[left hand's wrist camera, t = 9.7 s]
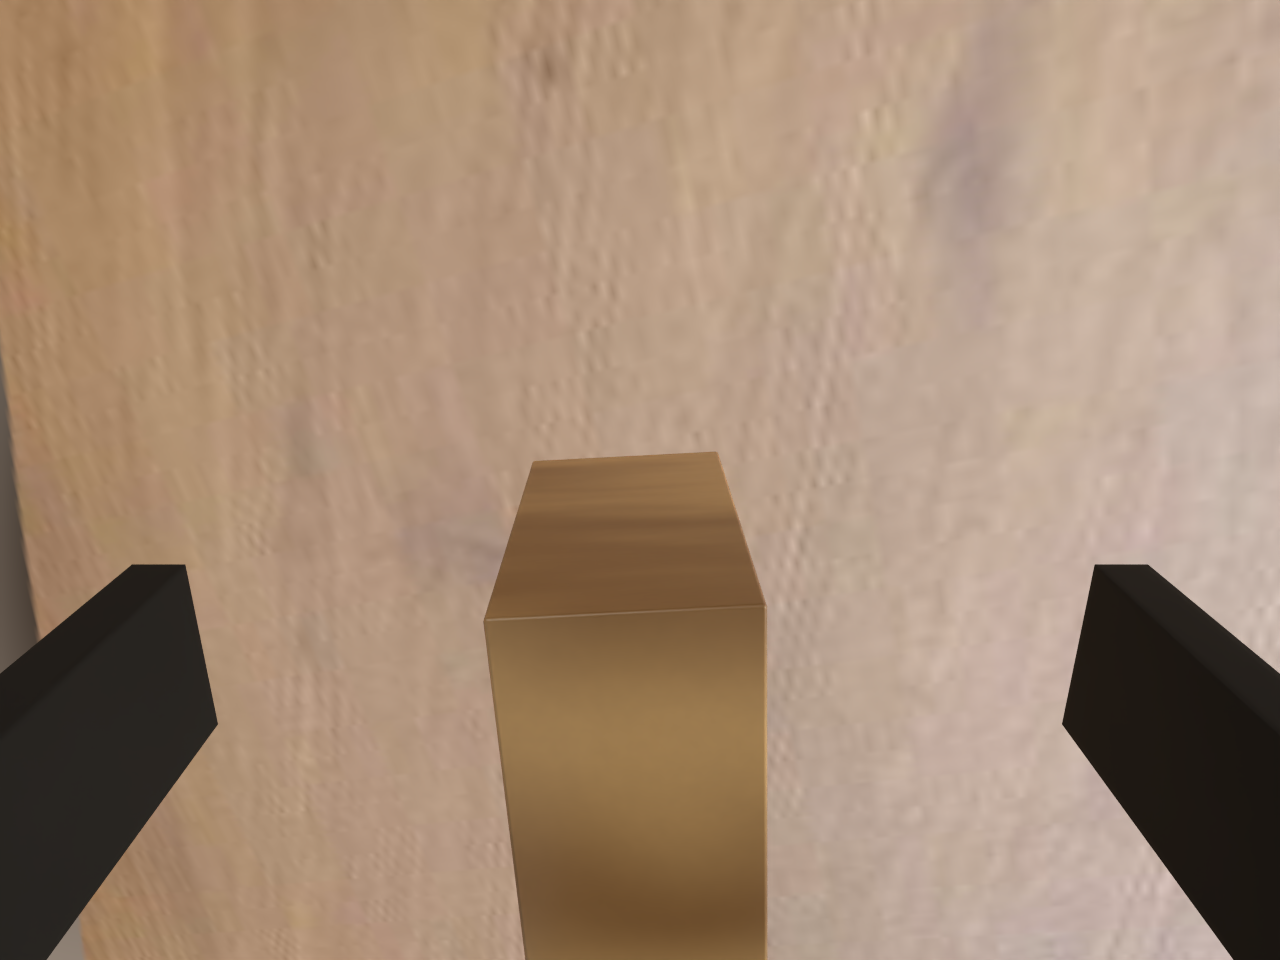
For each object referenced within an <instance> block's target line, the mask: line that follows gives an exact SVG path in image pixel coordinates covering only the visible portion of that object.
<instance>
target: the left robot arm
mask: <svg viewBox="0 0 1280 960" xmlns="http://www.w3.org/2000/svg"><path fill="white" fill-rule="evenodd" d="M217 725H218V722H217V718H216V713H215V708H214V703H213V698H212V693H211V688H210V683H209V678H208V674H207V669H206V664H205V659H204V654H203V649H202V644H201V639H200V634H199V630H198V625H197V620H196V615H195V610H194V605H193V600H192V595H191V590H190V586H189V581H188V576H187V571H186V566H185V565H131V566H130V567H129V568H127V569H126V570H125V571H124V572H123V573H121V574H120V575H119V576H118V577H117V578H115V579H114V580H113V581H112V582H111V583H109V584H108V585H107V586H106V587H104V588H103V589H102V590H101V591H100V592H98V593H97V594H96V595H95V596H94V597H92V598H91V599H90V600H89V601H88V602H86V603H85V604H84V605H83V606H82V607H80V608H79V609H78V610H77V611H75V612H74V613H73V614H72V615H71V616H69V617H68V618H67V619H66V620H65V621H63V622H62V623H61V624H60V625H59V626H57V627H56V628H55V629H54V630H53V631H51V632H50V633H49V634H48V635H46V636H45V637H44V638H43V639H42V640H40V641H39V642H38V643H37V644H36V645H34V646H33V647H32V648H31V649H30V650H28V651H27V652H26V653H25V654H24V655H22V656H21V657H20V658H19V659H17V660H16V661H15V662H14V663H13V664H11V665H10V666H9V667H8V668H7V669H5V670H4V671H3V672H2V673H1V674H0V960H47V958H48V957H49V955H50V954H51V953H52V951H53V950H54V949H55V947H56V946H57V944H58V943H59V942H60V940H61V939H62V938H63V936H64V935H65V934H66V932H67V931H68V929H69V928H70V927H71V925H72V924H73V923H74V921H75V920H76V918H77V917H78V916H79V914H80V913H81V912H82V910H83V909H84V907H85V906H86V905H87V903H88V902H89V901H90V899H91V898H92V896H93V895H94V894H95V892H96V891H97V890H98V888H99V887H100V885H101V884H102V883H103V881H104V880H105V879H106V877H107V876H108V874H109V873H110V872H111V870H112V869H113V868H114V866H115V865H116V863H117V862H118V861H119V859H120V858H121V857H122V855H123V854H124V853H125V851H126V850H127V848H128V847H129V846H130V844H131V843H132V842H133V840H134V839H135V837H136V836H137V835H138V833H139V832H140V831H141V829H142V828H143V826H144V825H145V824H146V822H147V821H148V820H149V818H150V817H151V815H152V814H153V813H154V811H155V810H156V809H157V807H158V806H159V804H160V803H161V802H162V800H163V799H164V798H165V796H166V795H167V793H168V792H169V791H170V789H171V788H172V787H173V785H174V784H175V782H176V781H177V780H178V778H179V777H180V776H181V774H182V773H183V771H184V770H185V769H186V767H187V766H188V765H189V763H190V762H191V760H192V759H193V758H194V756H195V755H196V754H197V752H198V751H199V749H200V748H201V747H202V745H203V744H204V743H205V741H206V740H207V738H208V737H209V736H210V734H211V733H212V732H213V730H214V729H215V727H216V726H217ZM1062 725H1063V726H1064V727H1065V729H1066V730H1067V732H1068V733H1069V734H1070V736H1071V737H1072V738H1073V740H1074V741H1075V743H1076V744H1077V745H1078V747H1079V748H1080V749H1081V751H1082V752H1083V754H1084V755H1085V756H1086V758H1087V759H1088V760H1089V762H1090V763H1091V765H1092V766H1093V767H1094V769H1095V770H1096V771H1097V773H1098V774H1099V776H1100V777H1101V778H1102V780H1103V781H1104V782H1105V784H1106V785H1107V787H1108V788H1109V789H1110V791H1111V792H1112V793H1113V795H1114V796H1115V798H1116V799H1117V800H1118V802H1119V803H1120V804H1121V806H1122V807H1123V809H1124V810H1125V811H1126V813H1127V814H1128V815H1129V817H1130V818H1131V820H1132V821H1133V822H1134V824H1135V825H1136V826H1137V828H1138V829H1139V831H1140V832H1141V833H1142V835H1143V836H1144V837H1145V839H1146V840H1147V842H1148V843H1149V844H1150V846H1151V847H1152V848H1153V850H1154V851H1155V852H1156V854H1157V855H1158V857H1159V858H1160V859H1161V861H1162V862H1163V863H1164V865H1165V866H1166V868H1167V869H1168V870H1169V872H1170V873H1171V874H1172V876H1173V877H1174V879H1175V880H1176V881H1177V883H1178V884H1179V885H1180V887H1181V888H1182V890H1183V891H1184V892H1185V894H1186V895H1187V896H1188V898H1189V899H1190V901H1191V902H1192V903H1193V905H1194V906H1195V907H1196V909H1197V910H1198V912H1199V913H1200V914H1201V916H1202V917H1203V918H1204V920H1205V921H1206V923H1207V924H1208V925H1209V927H1210V928H1211V929H1212V931H1213V932H1214V934H1215V935H1216V936H1217V938H1218V939H1219V940H1220V942H1221V943H1222V945H1223V946H1224V947H1225V949H1226V950H1227V951H1228V953H1229V954H1230V956H1231V957H1232V958H1233V960H1280V674H1279V673H1278V672H1277V671H1276V670H1275V669H1273V668H1272V667H1271V666H1270V665H1269V664H1267V663H1266V662H1265V661H1264V660H1263V659H1261V658H1260V657H1259V656H1258V655H1256V654H1255V653H1254V652H1253V651H1252V650H1250V649H1249V648H1248V647H1247V646H1246V645H1244V644H1243V643H1242V642H1241V641H1240V640H1238V639H1237V638H1236V637H1235V636H1234V635H1232V634H1231V633H1230V632H1229V631H1227V630H1226V629H1225V628H1224V627H1223V626H1221V625H1220V624H1219V623H1218V622H1217V621H1215V620H1214V619H1213V618H1212V617H1211V616H1209V615H1208V614H1207V613H1206V612H1205V611H1203V610H1202V609H1201V608H1200V607H1198V606H1197V605H1196V604H1195V603H1194V602H1192V601H1191V600H1190V599H1189V598H1188V597H1186V596H1185V595H1184V594H1183V593H1182V592H1180V591H1179V590H1178V589H1177V588H1176V587H1174V586H1173V585H1172V584H1171V583H1169V582H1168V581H1167V580H1166V579H1165V578H1163V577H1162V576H1161V575H1160V574H1159V573H1157V572H1156V571H1155V570H1154V569H1153V568H1151V567H1150V566H1149V565H1095V566H1094V571H1093V576H1092V581H1091V586H1090V590H1089V595H1088V600H1087V605H1086V610H1085V615H1084V620H1083V625H1082V630H1081V634H1080V639H1079V644H1078V649H1077V654H1076V659H1075V664H1074V669H1073V674H1072V678H1071V683H1070V688H1069V693H1068V698H1067V703H1066V708H1065V713H1064V718H1063V722H1062Z"/></svg>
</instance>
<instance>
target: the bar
mask: <svg viewBox="0 0 1280 960" xmlns="http://www.w3.org/2000/svg"><path fill="white" fill-rule="evenodd" d="M483 622H484V630H485V638H486V646H487V654H488V662H489V670H490V678H491V686H492V694H493V702H494V711H495V719H496V727H497V735H498V743H499V751H500V759H501V767H502V775H503V783H504V791H505V799H506V807H507V815H508V823H509V831H510V840H511V848H512V856H513V864H514V872H515V880H516V888H517V896H518V904H519V912H520V920H521V928H522V936H523V944H524V952H525V960H767V605H766V602H765V599H764V596H763V593H762V590H761V587H760V583H759V580H758V577H757V574H756V571H755V568H754V565H753V562H752V558H751V555H750V552H749V549H748V546H747V543H746V540H745V536H744V533H743V530H742V527H741V524H740V521H739V518H738V515H737V511H736V508H735V505H734V502H733V499H732V496H731V493H730V489H729V486H728V483H727V480H726V477H725V474H724V471H723V468H722V464H721V461H720V458H719V455H718V453H717V452H702V453H682V454H663V455H644V456H625V457H606V458H586V459H567V460H548V461H534V462H533V464H532V467H531V470H530V473H529V476H528V480H527V483H526V486H525V489H524V492H523V496H522V499H521V502H520V505H519V509H518V512H517V515H516V518H515V521H514V525H513V528H512V531H511V534H510V538H509V541H508V544H507V547H506V550H505V554H504V557H503V560H502V563H501V566H500V570H499V573H498V576H497V579H496V583H495V586H494V589H493V592H492V595H491V599H490V602H489V605H488V608H487V611H486V615H485V618H484V621H483Z"/></svg>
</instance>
